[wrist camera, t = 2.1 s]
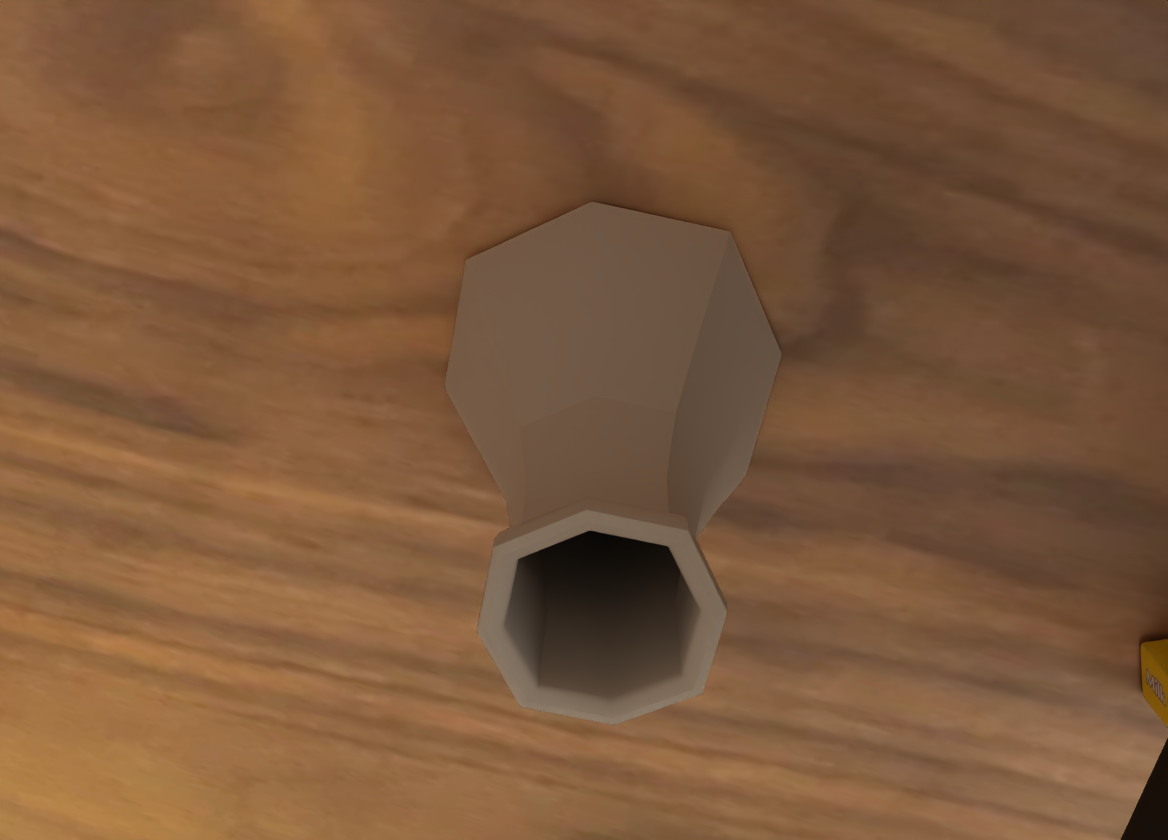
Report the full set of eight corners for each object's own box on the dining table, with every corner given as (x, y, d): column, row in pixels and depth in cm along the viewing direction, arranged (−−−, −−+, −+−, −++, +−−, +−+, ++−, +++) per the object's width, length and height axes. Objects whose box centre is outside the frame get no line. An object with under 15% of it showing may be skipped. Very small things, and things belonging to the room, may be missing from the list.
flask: (417, 218, 21) (256, 382, 12) (771, 178, 21) (890, 319, 11) (472, 529, 24) (375, 861, 15) (787, 502, 23) (893, 829, 14)
